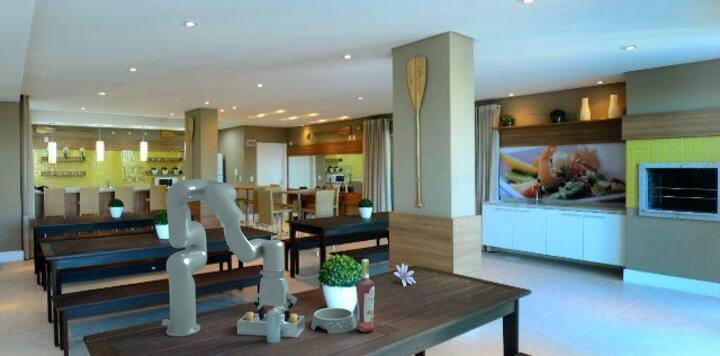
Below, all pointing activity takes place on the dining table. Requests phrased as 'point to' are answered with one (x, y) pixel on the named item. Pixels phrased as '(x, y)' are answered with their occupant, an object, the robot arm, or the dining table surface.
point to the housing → (260, 326)
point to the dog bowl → (334, 320)
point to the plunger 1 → (249, 316)
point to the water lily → (404, 274)
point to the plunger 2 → (293, 318)
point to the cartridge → (273, 326)
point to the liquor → (365, 300)
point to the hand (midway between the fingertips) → (274, 319)
